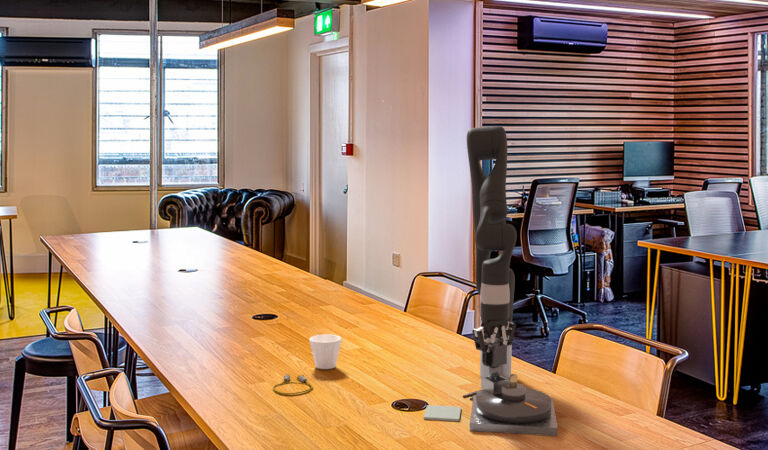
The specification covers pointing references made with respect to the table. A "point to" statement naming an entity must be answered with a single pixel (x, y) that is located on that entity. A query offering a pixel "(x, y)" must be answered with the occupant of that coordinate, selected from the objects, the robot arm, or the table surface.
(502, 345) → the block
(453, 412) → the mat
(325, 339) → the cup
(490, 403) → the chuck collar
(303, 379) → the olive earphones
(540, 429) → the drill stand
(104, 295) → the table surface
